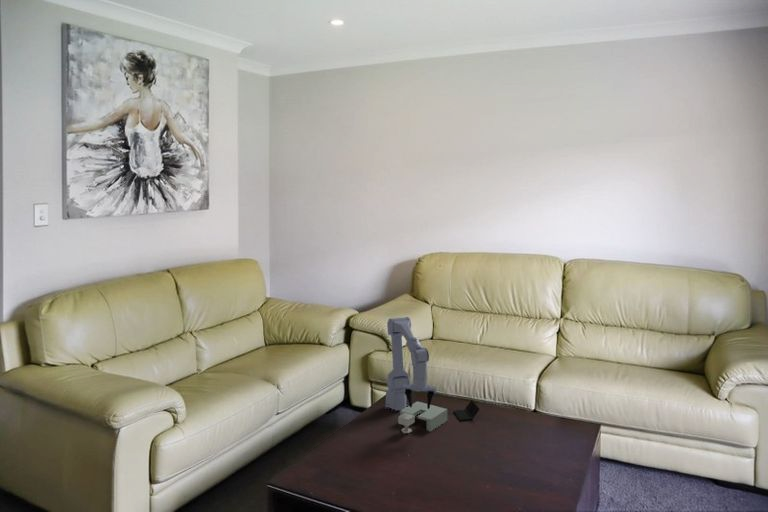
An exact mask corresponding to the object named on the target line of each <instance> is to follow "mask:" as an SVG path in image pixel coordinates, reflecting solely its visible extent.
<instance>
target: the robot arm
mask: <svg viewBox="0 0 768 512" xmlns="http://www.w3.org/2000/svg"><path fill="white" fill-rule="evenodd" d="M386 327H387V334H388V336H390V338H391V339H390V340H391V356H392V370H391V371H390V372H389V373H388V374H387V380H386V386H387V390H386V393H385V407H390V408H392V409H395V410H403V409H404V408H406V406H407V400H408V404H409V405H408V406H410V407H412V404H413V391H414V392H415V391H416V392H424V393H425V392H427V394H426V396H427V403H426V404H427V409H429V408H430V405H431V402H432V399H433V396H434V395H435V394H436V393H437V392H438V386H437V387H436V386H431V385H427V375H428V374H427V363H428V362H429V360H430V353H429V351H428V349H427V348H426V347H424V346H422V344H421V342H420V341H419V338H418V337H415V336H414V334H413V332H412V322H411V318H410V317H409V316H404V317H395V318H394V317H393V318H388V320H387V325H386ZM402 337H404V339H405V341H406V342H405V346H406V347H407V349H408V351H409V353H410V359H411V365H412V380H413V381H412V382H413V383H412V384H411V379H410V375H409V372H407V371H406V370H405V369H404V356H403V355H404V353H403V339H402Z"/></svg>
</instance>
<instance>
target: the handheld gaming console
mask: <svg viewBox="0 0 768 512" xmlns="http://www.w3.org/2000/svg"><path fill="white" fill-rule="evenodd" d="M479 411H480V407H478V405H477V404H476V403H475V401H473V400H470V401H469V402H468V404H467V405H466V407H465V408H464V409H459V410H458V409H457V410H453V411H452V412H454V413H453V415H454V416H455V417H456V416H457V417H456V418H457V419H458V420H459V422H471V420H472V421H473V419H474V418H475V417H476V415H477V413H478V412H479Z"/></svg>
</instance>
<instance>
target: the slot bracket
mask: <svg viewBox="0 0 768 512" xmlns="http://www.w3.org/2000/svg"><path fill="white" fill-rule="evenodd" d="M427 404H428V403H425V402H421V401H415V402H413V403H412V407H410V405H407V406H408V407H406V408H404V409H403V410H401V411H400V412H399V416H401V415H402V414H404V413H407V414H410V415H414V416H416V415H417V414H419V413H421V414H420V415H418V416H416V417H417V419H420V420H422V421H423V420H424V421H426V431H427V430H429V431H428V432H430V431H431V432H432V431H434V430H435V428H436V429H437V428H439V427H440V426H442V425H443V424H445V423H447V422H448V408H444V407H440V406H437V405H433V404H430V408H429V409H427ZM446 421H447V422H446ZM441 424H442V425H441ZM438 426H439V427H438ZM433 429H434V430H433Z"/></svg>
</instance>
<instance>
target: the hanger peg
mask: <svg viewBox="0 0 768 512" xmlns="http://www.w3.org/2000/svg"><path fill="white" fill-rule="evenodd" d="M415 418H416V417H415V416H414V415H410V414H407V413H404V414H402V415H401V416H400V415H399V416H397V421H398V424H399V425H402V426H404V427H403V428H401V430H400V431H402V432H403V433H410V432H413V431H412V430H413V429H412V428H409V426H411V425H413V424H414V423H415V422H416V420H415Z"/></svg>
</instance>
